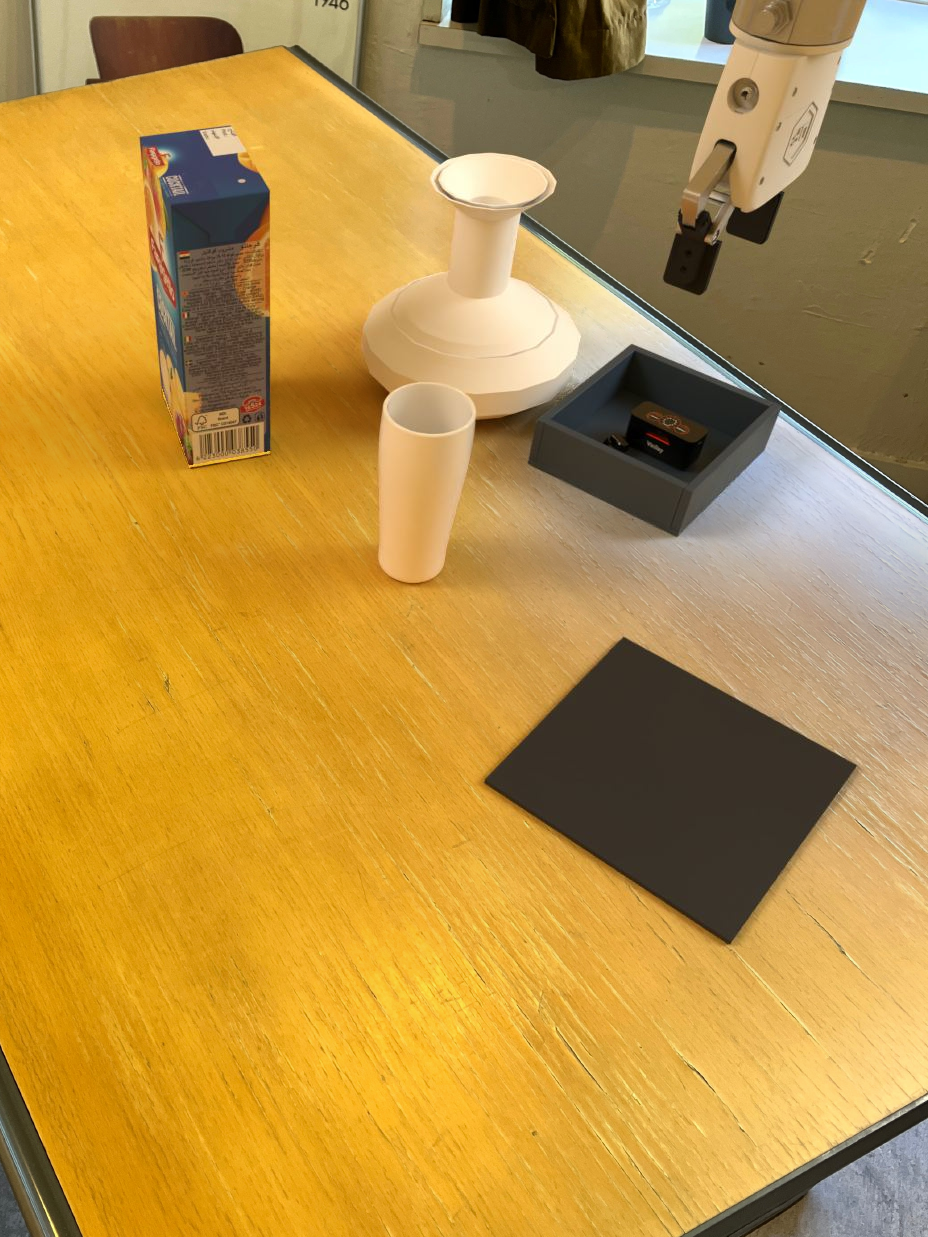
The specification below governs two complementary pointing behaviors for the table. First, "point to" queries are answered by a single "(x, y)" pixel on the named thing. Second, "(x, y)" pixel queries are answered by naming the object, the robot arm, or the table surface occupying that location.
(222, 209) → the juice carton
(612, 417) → the box
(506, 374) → the white ceramic vase shape
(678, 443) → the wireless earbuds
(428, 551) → the drinking glass
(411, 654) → the table surface
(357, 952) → the table surface
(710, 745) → the mat
